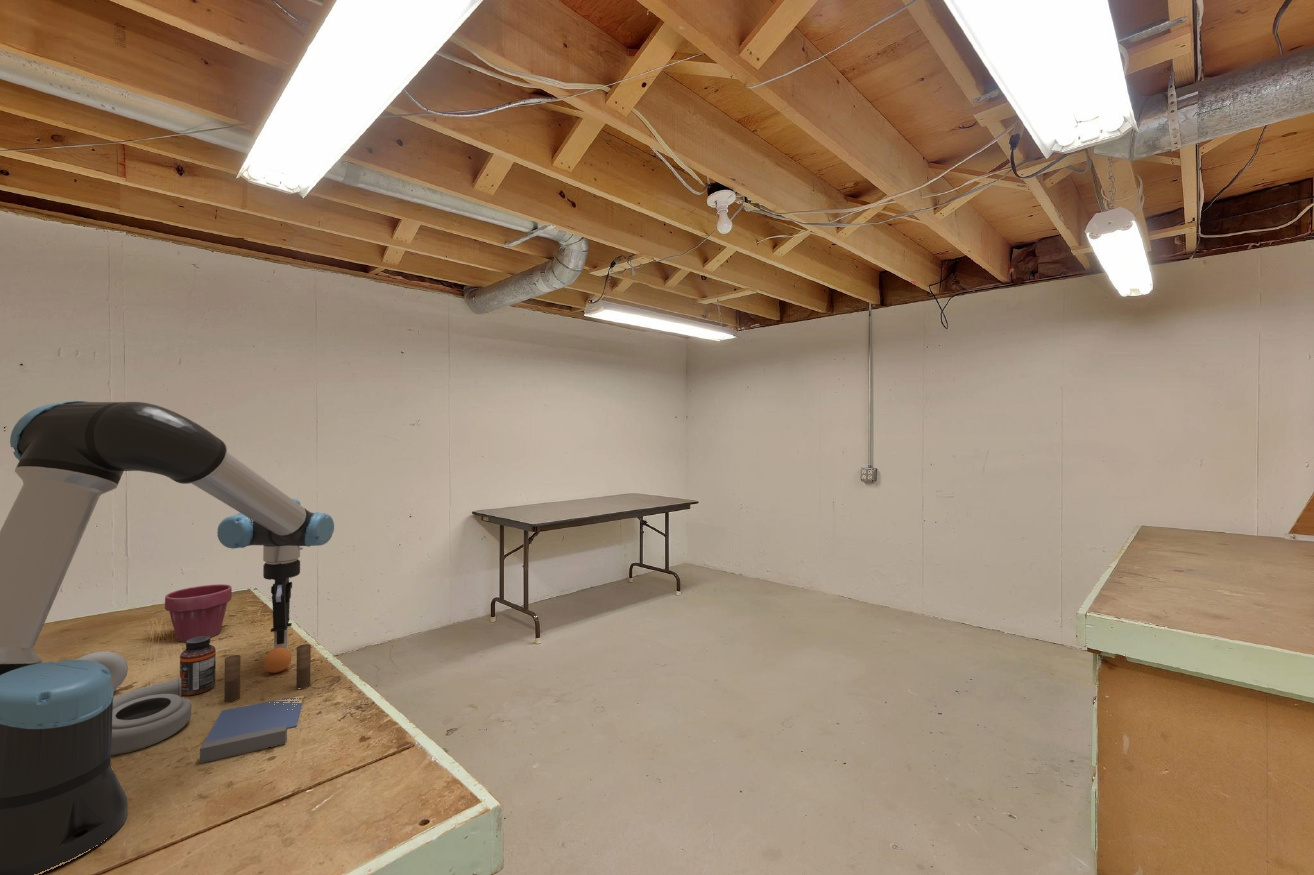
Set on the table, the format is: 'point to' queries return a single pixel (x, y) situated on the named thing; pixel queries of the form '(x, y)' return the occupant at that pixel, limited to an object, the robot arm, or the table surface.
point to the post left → (232, 678)
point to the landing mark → (255, 719)
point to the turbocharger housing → (148, 716)
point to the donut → (110, 665)
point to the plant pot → (198, 610)
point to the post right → (303, 666)
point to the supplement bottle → (197, 666)
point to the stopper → (242, 744)
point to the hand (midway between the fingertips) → (281, 655)
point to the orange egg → (277, 660)
